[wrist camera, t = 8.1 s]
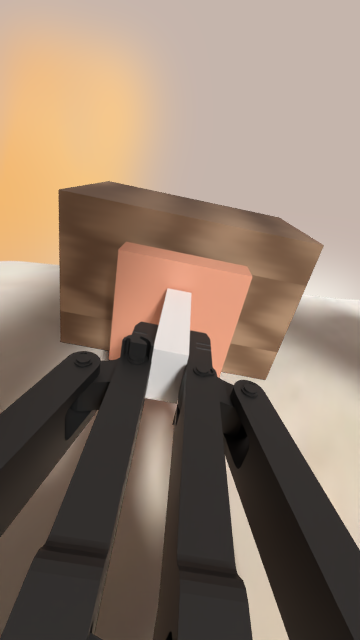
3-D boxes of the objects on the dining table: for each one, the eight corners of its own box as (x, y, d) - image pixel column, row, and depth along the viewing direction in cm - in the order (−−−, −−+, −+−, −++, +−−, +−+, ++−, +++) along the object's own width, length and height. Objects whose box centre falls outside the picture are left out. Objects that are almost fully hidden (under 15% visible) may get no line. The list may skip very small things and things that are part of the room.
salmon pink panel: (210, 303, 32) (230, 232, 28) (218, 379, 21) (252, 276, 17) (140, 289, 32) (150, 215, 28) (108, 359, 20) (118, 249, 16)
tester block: (245, 316, 36) (279, 217, 30) (265, 379, 25) (323, 245, 19) (102, 288, 35) (108, 181, 29) (60, 341, 24) (58, 189, 19)
